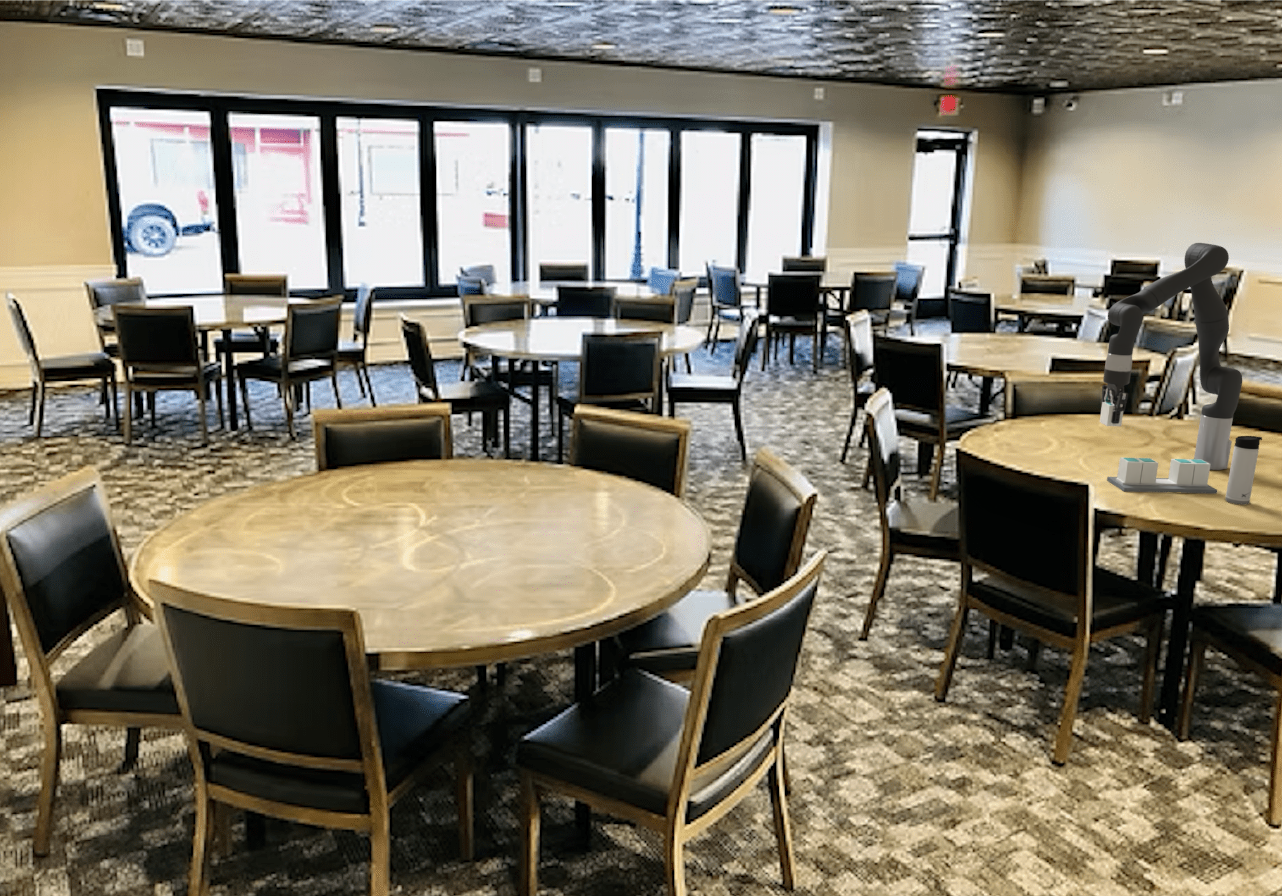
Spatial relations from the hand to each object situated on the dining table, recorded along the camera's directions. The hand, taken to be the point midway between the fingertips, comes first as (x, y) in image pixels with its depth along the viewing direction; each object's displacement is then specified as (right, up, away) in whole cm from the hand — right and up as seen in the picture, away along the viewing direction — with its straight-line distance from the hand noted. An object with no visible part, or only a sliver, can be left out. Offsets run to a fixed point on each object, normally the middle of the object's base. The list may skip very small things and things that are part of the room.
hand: (1110, 420), depth 332 cm
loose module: (0, -1, 0) cm, 1 cm away
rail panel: (+11, -20, -9) cm, 25 cm away
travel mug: (+27, -25, -23) cm, 43 cm away
